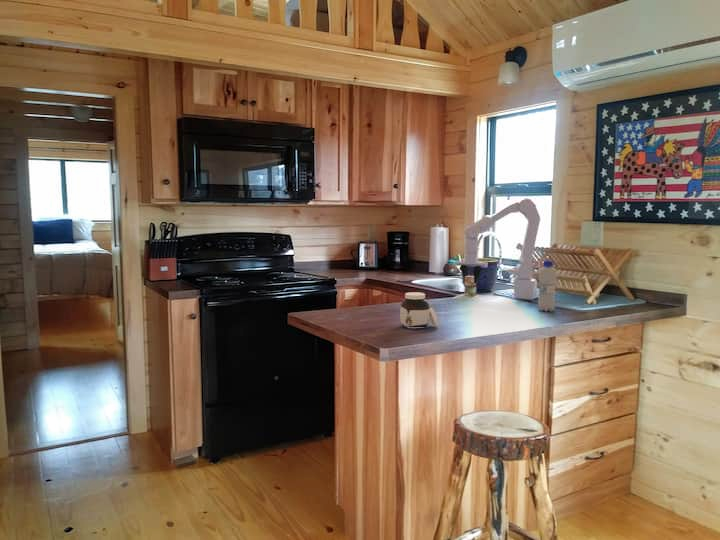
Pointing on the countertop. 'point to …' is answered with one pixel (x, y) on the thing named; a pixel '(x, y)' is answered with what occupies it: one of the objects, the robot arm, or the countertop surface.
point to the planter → (484, 275)
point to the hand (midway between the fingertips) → (470, 282)
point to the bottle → (547, 287)
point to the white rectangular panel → (479, 298)
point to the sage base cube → (470, 291)
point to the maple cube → (469, 281)
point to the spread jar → (417, 311)
